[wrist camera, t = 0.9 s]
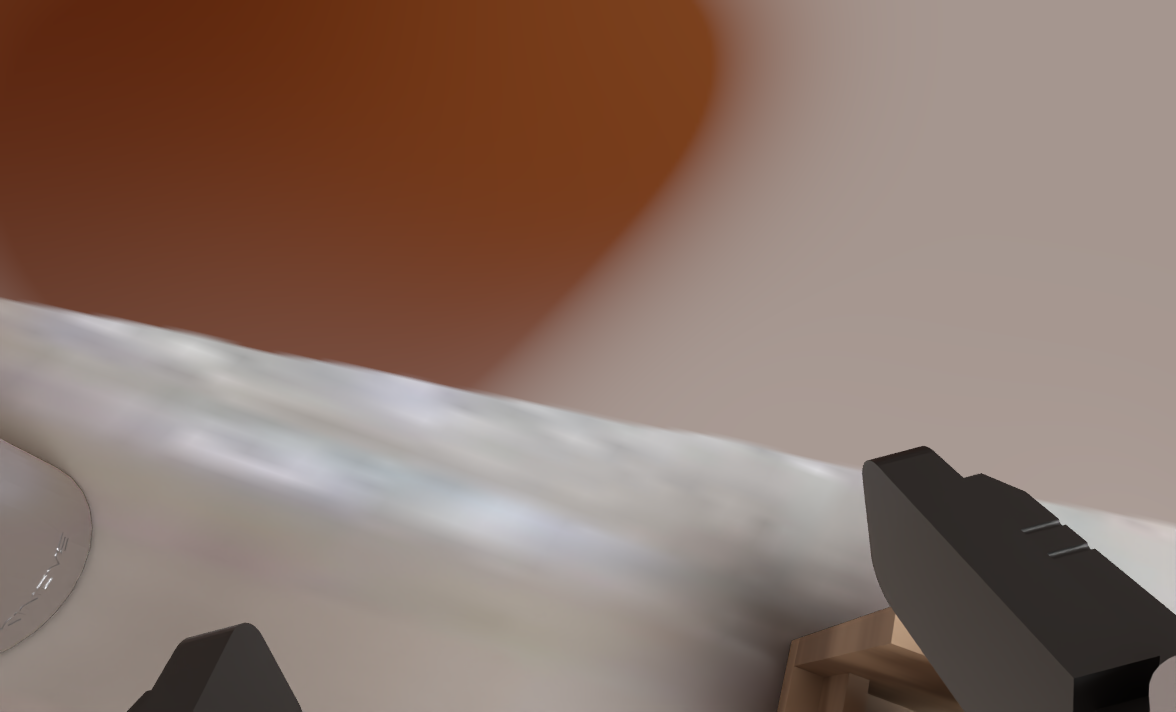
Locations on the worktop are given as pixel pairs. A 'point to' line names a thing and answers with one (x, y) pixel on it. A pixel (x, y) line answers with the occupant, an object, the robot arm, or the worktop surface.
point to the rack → (862, 671)
